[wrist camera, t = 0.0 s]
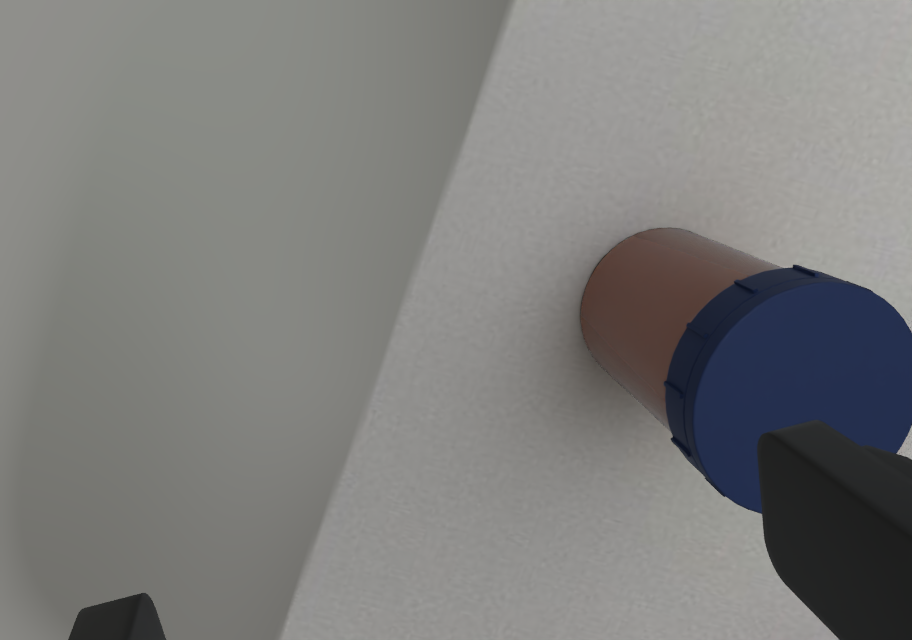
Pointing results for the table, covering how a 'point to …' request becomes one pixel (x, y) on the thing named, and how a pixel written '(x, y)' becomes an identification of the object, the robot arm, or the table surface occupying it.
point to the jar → (654, 304)
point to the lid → (786, 372)
